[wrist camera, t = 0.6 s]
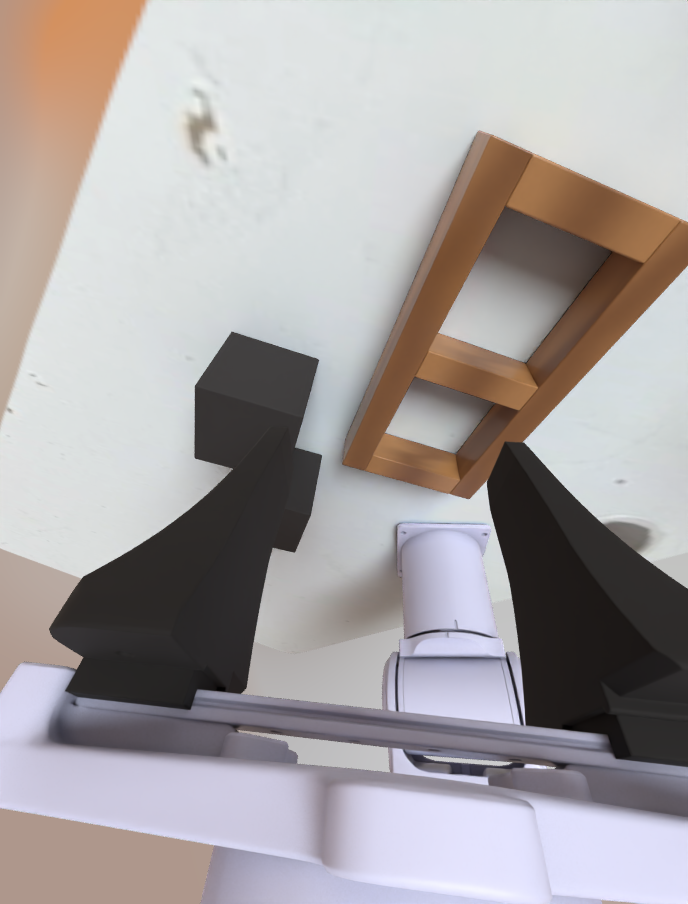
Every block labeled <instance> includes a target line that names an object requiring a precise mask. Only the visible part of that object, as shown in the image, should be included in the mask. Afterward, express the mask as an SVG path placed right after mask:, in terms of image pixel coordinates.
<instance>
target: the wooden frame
mask: <svg viewBox="0 0 688 904" xmlns="http://www.w3.org/2000/svg"><path fill="white" fill-rule="evenodd" d="M505 206H506V207H507V208H510V209H512V210H514V211H517V212H519V213H522V214H524V215H526V216H529V217H531V218H534V219H536V220H538V221H541V222H543V223H546V224H548V225H550V226H553V227H555V228H558V229H560V230H562V231H565V232H567V233H570V234H572V235H574V236H577V237H579V238H582V239H584V240H586V241H589V242H591V243H594V244H596V245H598V246H601V247H603V248H606V249H608V250H610V251H613V252H612V253H611V255H610V256H609V257H608V258H607V260H606V261H605V262H604V264H603V265H602V266H601V267H600V269H599V270H598V271H597V273H596V274H595V275H594V276H593V278H592V279H591V280H590V282H589V283H588V284H587V286H586V287H585V288H584V289H583V291H582V292H581V293H580V295H579V296H578V297H577V298H576V300H575V301H574V302H573V304H572V305H571V306H570V308H569V309H568V310H567V311H566V313H565V314H564V315H563V317H562V318H561V319H560V320H559V322H558V323H557V324H556V326H555V327H554V328H553V330H552V331H551V332H550V333H549V335H548V336H547V337H546V339H545V340H544V341H543V342H542V344H541V345H540V346H539V348H538V349H537V350H536V352H535V353H534V354H533V355H532V357H531V358H530V359H529V361H528V362H527V363H526V364H525V363H523V362H520V361H517V360H514V359H512V358H509V357H506V356H503V355H500V354H497V353H494V352H491V351H489V350H486V349H483V348H480V347H477V346H474V345H471V344H468V343H466V342H463V341H460V340H457V339H454V338H451V337H448V336H445V335H443V334H440V333H438V331H439V329H440V328H441V326H442V324H443V322H444V320H445V318H446V316H447V314H448V312H449V311H450V309H451V307H452V305H453V303H454V301H455V299H456V297H457V295H458V294H459V292H460V290H461V288H462V286H463V284H464V282H465V280H466V278H467V277H468V275H469V273H470V271H471V269H472V267H473V265H474V263H475V261H476V260H477V258H478V256H479V254H480V252H481V250H482V248H483V246H484V245H485V243H486V241H487V239H488V237H489V235H490V233H491V231H492V229H493V228H494V226H495V224H496V222H497V220H498V218H499V216H500V214H501V212H502V211H503V209H504V207H505ZM687 266H688V222H686V221H684V220H682V219H679V218H677V217H675V216H673V215H671V214H668V213H666V212H664V211H662V210H659V209H657V208H655V207H653V206H650V205H648V204H646V203H644V202H641V201H639V200H637V199H635V198H632V197H630V196H628V195H626V194H624V193H621V192H619V191H617V190H615V189H612V188H610V187H608V186H606V185H603V184H601V183H599V182H597V181H594V180H592V179H590V178H588V177H585V176H583V175H581V174H579V173H577V172H574V171H572V170H570V169H568V168H565V167H563V166H561V165H559V164H556V163H554V162H552V161H550V160H547V159H545V158H543V157H541V156H539V155H536V154H534V153H532V152H530V151H527V150H525V149H523V148H521V147H518V146H516V145H514V144H512V143H509V142H507V141H505V140H503V139H501V138H498V137H496V136H494V135H491V134H488V133H485V132H482V131H478V132H477V134H476V137H475V139H474V141H473V144H472V146H471V148H470V150H469V153H468V155H467V157H466V160H465V162H464V164H463V167H462V169H461V171H460V174H459V176H458V178H457V181H456V183H455V185H454V188H453V190H452V192H451V195H450V197H449V199H448V202H447V204H446V206H445V209H444V211H443V213H442V216H441V218H440V220H439V223H438V225H437V227H436V230H435V232H434V234H433V237H432V239H431V241H430V244H429V246H428V248H427V251H426V253H425V255H424V258H423V260H422V262H421V265H420V267H419V269H418V272H417V274H416V276H415V279H414V281H413V283H412V285H411V288H410V290H409V292H408V295H407V297H406V299H405V302H404V304H403V306H402V309H401V311H400V313H399V316H398V318H397V320H396V323H395V325H394V327H393V330H392V332H391V334H390V337H389V339H388V341H387V344H386V346H385V348H384V351H383V353H382V355H381V358H380V360H379V362H378V365H377V367H376V369H375V372H374V374H373V376H372V379H371V381H370V383H369V386H368V388H367V390H366V393H365V395H364V397H363V400H362V402H361V404H360V407H359V409H358V411H357V414H356V416H355V418H354V421H353V423H352V425H351V427H350V430H349V432H348V434H347V437H346V439H345V446H344V454H343V462H342V464H343V465H346V466H349V467H353V468H357V469H360V470H365V471H367V472H371V473H375V474H378V475H382V476H386V477H389V478H393V479H396V480H400V481H404V482H407V483H411V484H414V485H418V486H422V487H425V488H429V489H432V490H436V491H440V492H443V493H447V494H451V495H455V496H459V497H462V498H466V499H470V498H471V497H472V496H473V495H474V494H475V493H476V492H477V490H478V489H479V488H480V487H481V486H482V485H483V484H484V483H485V482H486V481H487V480H488V479H489V476H490V474H491V472H492V470H493V467H494V465H495V463H496V460H497V458H498V456H499V454H500V451H501V449H502V447H503V444H504V442H505V441H507V442H523V441H524V440H525V439H526V438H527V437H528V436H529V435H530V434H531V433H532V432H533V431H534V430H535V428H536V427H537V426H538V425H539V424H540V423H541V422H542V421H543V420H544V419H545V418H546V417H547V416H548V415H549V413H550V412H551V411H552V410H553V409H554V408H555V407H556V406H557V405H558V404H559V403H560V402H561V401H562V400H563V399H564V397H565V396H566V395H567V394H568V393H569V392H570V391H571V390H572V389H573V388H574V387H575V386H576V385H577V384H578V382H579V381H580V380H581V379H582V378H583V377H584V376H585V375H586V374H587V373H588V372H589V371H590V370H591V369H592V368H593V366H594V365H595V364H596V363H597V362H598V361H599V360H600V359H601V358H602V357H603V356H604V355H605V354H606V353H607V351H608V350H609V349H610V348H611V347H612V346H613V345H614V344H615V343H616V342H617V341H618V340H619V339H620V338H621V337H622V335H623V334H624V333H625V332H626V331H627V330H628V329H629V328H630V327H631V326H632V325H633V324H634V323H635V322H636V320H637V319H638V318H639V317H640V316H641V315H642V314H643V313H644V312H645V311H646V310H647V309H648V308H649V307H650V306H651V304H652V303H653V302H654V301H655V300H656V299H657V298H658V297H659V296H660V295H661V294H662V293H663V292H664V291H665V289H666V288H667V287H668V286H669V285H670V284H671V283H672V282H673V281H674V280H675V279H676V278H677V277H678V276H679V275H680V273H681V272H682V271H683V270H684V269H685V268H686V267H687ZM414 377H417V378H420V379H423V380H426V381H429V382H432V383H436V384H439V385H442V386H445V387H448V388H451V389H454V390H457V391H460V392H463V393H466V394H469V395H472V396H476V397H479V398H482V399H485V400H488V401H491V402H494V403H495V405H494V406H493V407H492V408H491V410H490V411H489V412H488V414H487V415H486V416H485V417H484V419H483V420H482V421H481V423H480V424H479V425H478V427H477V428H476V429H475V430H474V432H473V433H472V434H471V436H470V437H469V438H468V439H467V441H466V442H465V443H464V445H463V446H462V447H461V449H460V450H459V451H458V452H457V454H456V455H455V454H453V453H449V452H446V451H443V450H439V449H436V448H433V447H429V446H426V445H422V444H419V443H416V442H412V441H409V440H406V439H402V438H399V437H395V436H392V435H389V434H385V431H386V429H387V427H388V426H389V424H390V422H391V420H392V418H393V416H394V414H395V412H396V410H397V409H398V407H399V405H400V403H401V401H402V399H403V397H404V395H405V394H406V392H407V390H408V388H409V386H410V384H411V382H412V380H413V378H414Z"/></svg>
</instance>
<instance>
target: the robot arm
mask: <svg viewBox="0 0 688 904" xmlns="http://www.w3.org/2000/svg"><path fill="white" fill-rule="evenodd" d="M293 471H294V465H293V458H292V450H291V443H290V436H289V428H288V427H274V426H271V427H270V428H268V429H267V431H266V432H265V433H264V434H263V436H262V437H261V438H260V439H259V440H258V442H257V443H256V444H255V445H254V446H253V448H252V449H251V450H250V451H249V452H248V453H247V454H246V456H245V457H244V458H243V459H242V460H241V461H240V462H239V463H238V464H237V465H236V467H235V468H234V469H233V470H232V471H231V472H230V473H229V474H228V475H227V476H226V477H225V478H224V479H223V480H222V481H221V482H220V483H219V484H218V485H217V486H216V487H215V488H214V489H213V490H211V491H210V492H209V493H208V494H207V495H206V496H205V497H204V498H203V499H201V500H200V501H199V502H198V503H197V504H195V505H194V506H193V507H192V508H191V509H189V510H188V511H187V512H186V513H184V514H183V515H182V516H180V517H179V518H178V519H176V520H175V521H174V522H172V523H171V524H170V525H168V526H167V527H166V528H164V529H163V530H161V531H160V532H158V533H157V534H155V535H154V536H152V537H151V538H149V539H148V540H146V541H145V542H143V543H142V544H140V545H138V546H137V547H135V548H134V549H132V550H130V551H129V552H127V553H125V554H124V555H122V556H120V557H118V558H117V559H115V560H113V561H111V562H109V563H108V564H106V565H104V566H102V567H100V568H99V569H97V570H95V571H93V572H91V573H89V574H87V575H86V576H84V577H83V578H82V579H81V581H80V582H79V583H78V585H77V586H76V587H75V589H74V590H73V592H72V593H71V595H70V597H69V598H68V600H67V601H66V603H65V604H64V606H63V607H62V609H61V611H60V612H59V614H58V615H57V617H56V618H55V620H54V622H53V623H52V625H51V627H50V628H49V630H50V633H51V635H52V637H53V638H54V639H56V640H57V641H58V642H60V643H61V644H63V645H65V646H66V647H68V648H69V649H71V650H73V651H74V652H76V653H78V654H79V655H81V656H82V657H84V658H83V659H82V661H81V663H80V665H79V667H78V668H77V670H76V669H74V668H70V667H65V666H60V665H51V664H41V663H32V662H23V663H20V664H19V665H18V667H17V668H16V670H15V671H14V673H13V675H12V676H11V678H10V679H9V680H8V682H7V683H6V685H5V686H4V688H3V689H2V691H1V692H0V808H3V809H9V810H15V811H21V812H27V813H33V814H39V815H45V816H51V817H57V818H62V819H68V820H73V821H79V822H85V823H90V824H96V825H102V826H108V827H113V828H119V829H125V830H130V831H136V832H142V833H148V834H153V835H159V836H165V837H171V838H176V839H182V840H188V841H194V842H199V843H205V844H211V845H214V849H213V853H212V857H211V861H210V865H209V870H208V874H207V878H206V883H205V887H204V891H203V895H202V900H201V904H602V902H601V900H609V901H620V902H630V903H640V904H688V589H687V588H686V587H684V586H683V585H681V584H680V583H678V582H677V581H675V580H674V579H672V578H671V577H669V576H668V575H667V574H665V573H664V572H663V571H661V570H660V569H658V568H657V567H656V566H654V565H653V564H652V563H650V562H649V561H648V560H646V559H645V558H644V557H642V556H641V555H640V554H638V553H637V552H636V551H634V550H633V549H632V548H631V547H629V546H628V545H627V544H626V543H624V542H623V541H622V540H621V539H620V538H618V537H617V536H616V535H615V534H614V533H613V532H611V531H610V530H609V529H608V528H607V527H605V526H604V525H603V524H602V523H601V522H600V521H599V520H598V519H597V518H596V517H594V516H593V515H592V514H591V513H590V512H589V511H588V510H587V509H586V508H585V507H584V506H583V505H582V504H581V503H580V502H579V501H578V500H577V499H576V498H575V497H574V496H573V495H572V494H571V493H570V492H569V491H568V490H567V489H566V488H565V487H564V486H563V485H562V484H561V483H560V482H559V480H558V479H557V478H556V477H555V476H554V475H553V474H552V473H551V472H550V471H549V470H548V468H547V467H546V466H545V465H544V464H543V463H542V462H541V461H540V460H539V458H538V457H537V456H536V455H535V454H534V453H533V452H532V451H531V450H530V448H529V447H528V446H527V445H526V444H525V443H522V442H507V441H505V442H504V444H503V447H502V449H501V451H500V454H499V456H498V458H497V460H496V463H495V465H494V467H493V470H492V472H491V474H490V476H489V479H488V481H487V488H488V497H489V504H490V511H491V514H492V518H493V522H494V526H495V529H496V533H497V537H498V540H499V544H500V548H501V551H502V555H503V558H504V562H505V566H506V569H507V573H508V578H509V582H510V588H511V594H512V600H513V606H514V613H515V620H516V628H517V635H518V643H519V651H520V658H519V657H517V655H516V654H515V653H514V652H506V656H505V651H504V646H503V642H502V639H501V638H499V637H498V632H497V627H496V622H495V617H494V612H493V607H492V602H491V597H490V593H489V588H488V583H487V578H486V573H485V568H484V563H483V555H484V552H485V549H486V546H487V543H488V540H489V537H490V533H491V527H490V526H489V525H482V524H418V523H401V524H399V525H398V526H397V575H398V576H399V577H402V582H403V617H404V639H400V640H399V652H393V653H392V654H391V655H390V657H389V659H388V660H387V661H386V663H385V666H384V672H383V684H382V706H383V710H380V709H371V708H362V707H353V706H344V705H335V704H326V703H317V702H308V701H299V700H290V699H281V698H272V697H263V696H254V695H245V694H241V693H242V692H243V691H244V690H245V689H246V687H247V681H248V674H249V667H250V661H251V655H252V647H253V642H254V636H255V631H256V625H257V619H258V613H259V608H260V603H261V598H262V592H263V587H264V582H265V578H266V573H267V568H268V563H269V559H270V555H271V552H272V548H273V545H274V542H275V539H276V535H277V532H278V529H279V526H280V523H281V520H282V516H283V513H284V510H285V507H286V504H287V500H288V497H289V493H290V488H291V483H292V477H293ZM237 730H244V731H252V732H260V733H269V734H278V735H286V736H294V737H303V738H311V739H320V740H328V741H337V742H346V743H354V744H362V745H371V746H379V747H388V752H389V767H390V772H391V773H390V772H381V771H371V770H361V769H351V768H340V767H328V766H316V765H305V764H297V759H298V755H297V754H296V752H293V751H291V750H289V749H288V744H287V742H285V741H281V740H276V739H271V738H266V737H261V736H257V735H252V734H247V733H239V732H238V731H237ZM423 755H425V756H439V757H452V758H465V759H478V760H492V761H504V762H512V763H511V764H509V765H503V766H493V765H480V764H468V763H454V762H443V761H434V760H431V759H428V758H426V757H424V756H423ZM547 766H550V767H556V768H555V769H547Z"/></svg>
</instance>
